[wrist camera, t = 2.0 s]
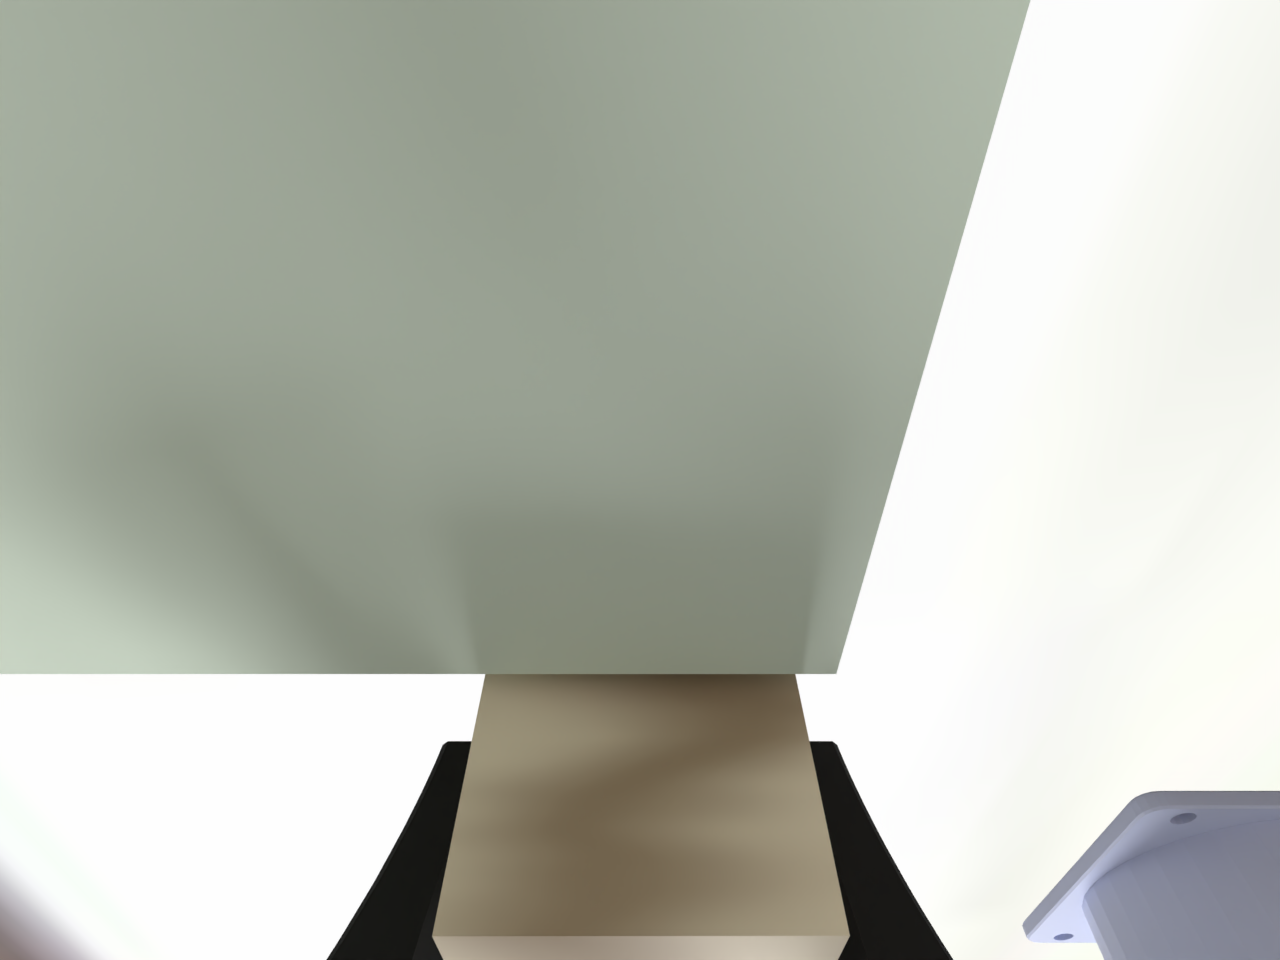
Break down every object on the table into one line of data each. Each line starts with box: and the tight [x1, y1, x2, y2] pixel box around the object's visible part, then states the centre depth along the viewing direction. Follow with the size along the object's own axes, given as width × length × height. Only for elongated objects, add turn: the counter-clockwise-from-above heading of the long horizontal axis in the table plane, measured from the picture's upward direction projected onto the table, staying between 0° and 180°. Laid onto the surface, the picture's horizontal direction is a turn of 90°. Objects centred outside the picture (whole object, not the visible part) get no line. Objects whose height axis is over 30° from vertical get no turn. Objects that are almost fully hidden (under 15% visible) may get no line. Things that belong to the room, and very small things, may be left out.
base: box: [0, 0, 1030, 674], centre depth 7 cm, size 14×14×2 cm
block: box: [432, 674, 850, 960], centre depth 12 cm, size 5×5×5 cm
